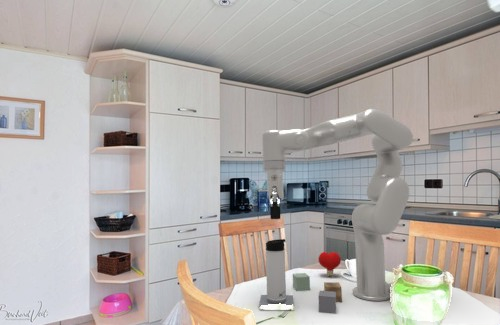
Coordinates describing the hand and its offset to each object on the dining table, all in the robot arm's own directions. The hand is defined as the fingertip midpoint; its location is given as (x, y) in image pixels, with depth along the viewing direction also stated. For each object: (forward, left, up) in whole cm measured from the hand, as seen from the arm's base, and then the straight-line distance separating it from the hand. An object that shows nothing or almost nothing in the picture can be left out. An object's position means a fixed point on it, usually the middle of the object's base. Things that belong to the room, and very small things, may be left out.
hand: (275, 217), depth 107 cm
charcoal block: (-16, +4, -28) cm, 33 cm away
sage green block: (-9, -16, -28) cm, 34 cm away
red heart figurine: (-22, -32, -29) cm, 48 cm away
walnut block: (-19, -5, -28) cm, 34 cm away
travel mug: (0, 0, -28) cm, 28 cm away
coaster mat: (0, 0, -28) cm, 28 cm away
